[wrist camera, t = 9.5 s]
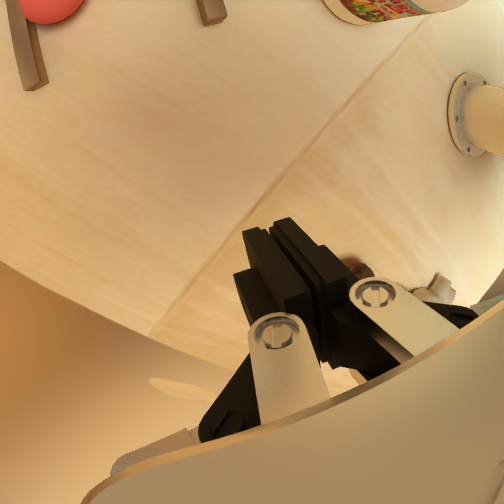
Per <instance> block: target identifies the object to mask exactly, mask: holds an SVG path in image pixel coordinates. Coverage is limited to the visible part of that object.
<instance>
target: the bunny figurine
mask: <svg viewBox="0 0 504 504" xmlns="http://www.w3.org/2000/svg"><path fill="white" fill-rule="evenodd" d="M450 285H451V281H449V280H448V279H446V278H445V277H443V276H439V278H438V279H437V280H436V281H435V282H434V284H433V285H432V286H431V287H430V288H429V289H425V288H419V289H417V290H415V291H414V292H412V293H411V294H412V295H413V296H415V297H416V298H418V299H419V300H420V301H426V302H434V303H441V304H449V305H451V304H452V302H453V299H454V297H455V292H456V290H454V289H453V288H451V287H450ZM409 293H410V292H409Z"/></svg>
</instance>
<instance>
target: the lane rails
mask: <svg viewBox="0 0 504 504" xmlns="http://www.w3.org/2000/svg"><path fill="white" fill-rule="evenodd" d="M197 3H198V7H199V11H200V14H201V18H202V21H203V25H204V26H207V25H211V24H216V23H221V22H222V21H223V20H224V19H225V18H226V17H227V12H226V9H225V5H224V2H223V0H197ZM6 4H7V12H8V18H9V25H10V31H11V36H12V42H13V47H14V52H15V56H16V61H17V65H18V70H19V74H20V78H21V82H22V86H23V89H24V90H25V91H34V90H36V89H38V88H40V87H42V86H44V85H46V84H47V83H49V81H48V78H47V74H46V70H45V66H44V62H43V58H42V54H41V50H40V45H39V41H38V36H37V31H36V26H35V23H33V22H31V21H29V20H28V19H27V18H26V17H25V16H24V15H23V14H22V12H21V10H20V6H19V0H6Z"/></svg>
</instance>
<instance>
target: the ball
mask: <svg viewBox="0 0 504 504" xmlns="http://www.w3.org/2000/svg"><path fill="white" fill-rule="evenodd" d="M82 2H83V0H19V6H20V10H21V12H22V14H23V15H24V16H25V17H26V18H27V19H28V20H29V21H31V22H33V23H37V24H51V23H55V22H58V21H61V20H63V19H65V18H66V17H68V16H69V15H71V14H72V13H73V12H74V11H75V10H76V9H77V8H78V7H79V6H80V5H81V3H82Z"/></svg>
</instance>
